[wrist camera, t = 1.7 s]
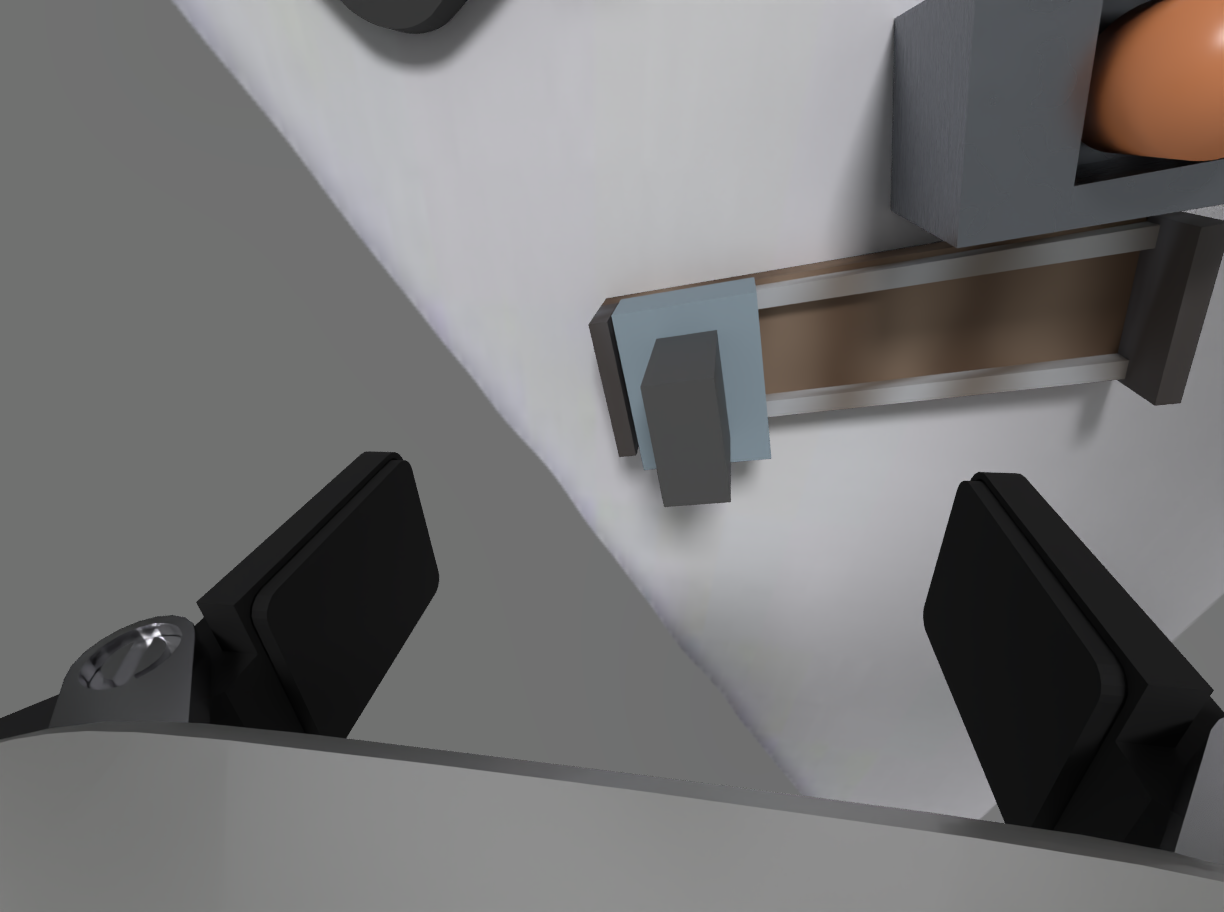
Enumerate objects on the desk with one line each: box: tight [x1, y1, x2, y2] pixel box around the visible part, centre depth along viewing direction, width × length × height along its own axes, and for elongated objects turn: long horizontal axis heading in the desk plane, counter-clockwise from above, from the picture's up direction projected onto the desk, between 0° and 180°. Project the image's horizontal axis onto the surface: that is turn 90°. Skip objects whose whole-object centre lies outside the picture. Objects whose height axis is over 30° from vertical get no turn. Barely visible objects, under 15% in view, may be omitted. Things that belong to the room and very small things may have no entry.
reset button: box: [1081, 0, 1224, 161], centre depth 17 cm, size 4×4×4 cm
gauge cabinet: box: [891, 0, 1224, 248], centre depth 22 cm, size 12×8×10 cm
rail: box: [589, 211, 1224, 457], centre depth 30 cm, size 27×8×5 cm, turn 102°
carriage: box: [611, 277, 771, 507], centre depth 28 cm, size 7×9×9 cm
